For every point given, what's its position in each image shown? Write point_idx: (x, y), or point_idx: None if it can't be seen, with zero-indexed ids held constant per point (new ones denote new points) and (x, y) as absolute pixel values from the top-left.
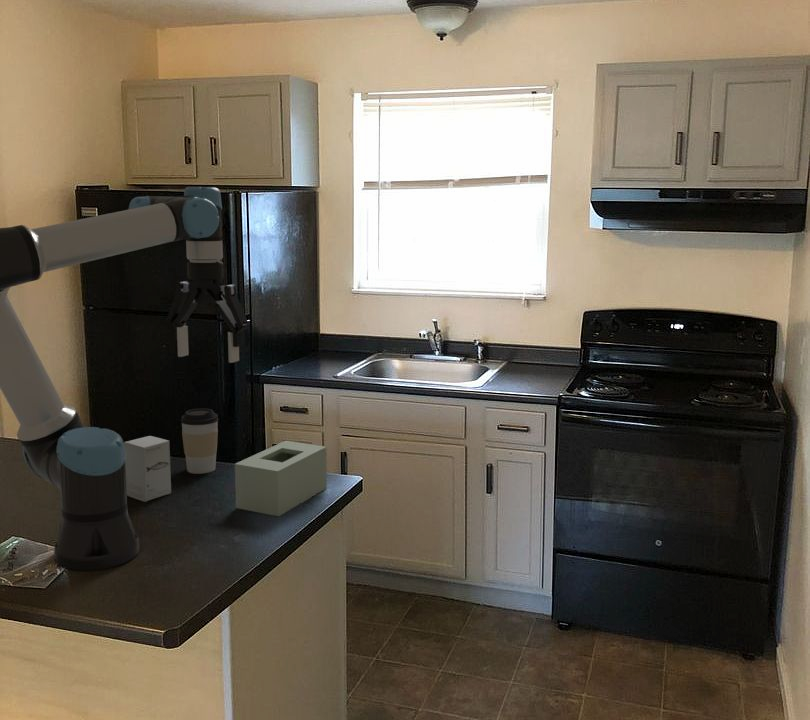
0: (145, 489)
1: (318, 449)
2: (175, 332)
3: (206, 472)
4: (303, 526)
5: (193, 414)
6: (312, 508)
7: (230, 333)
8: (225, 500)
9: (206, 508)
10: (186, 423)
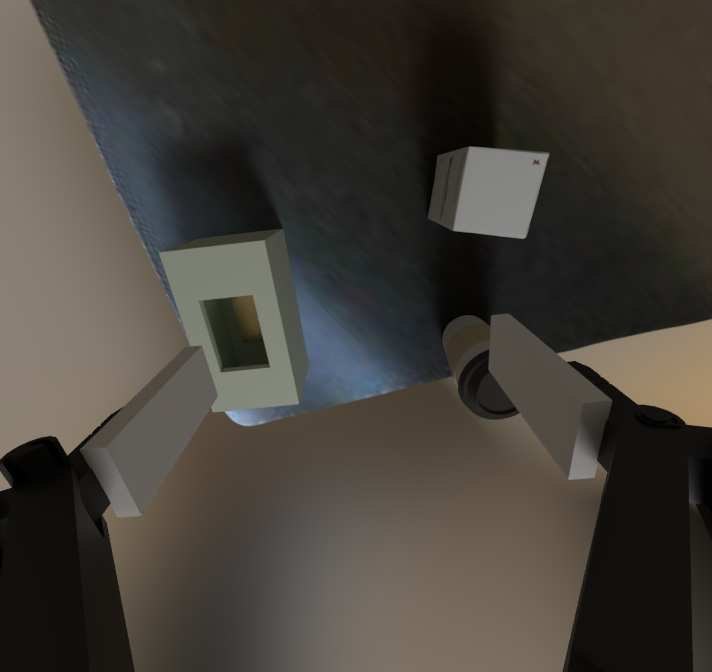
0: (442, 154)
1: None
2: (610, 389)
3: (445, 328)
4: (135, 226)
5: None
6: None
7: (89, 444)
8: (324, 246)
9: (322, 197)
10: None
